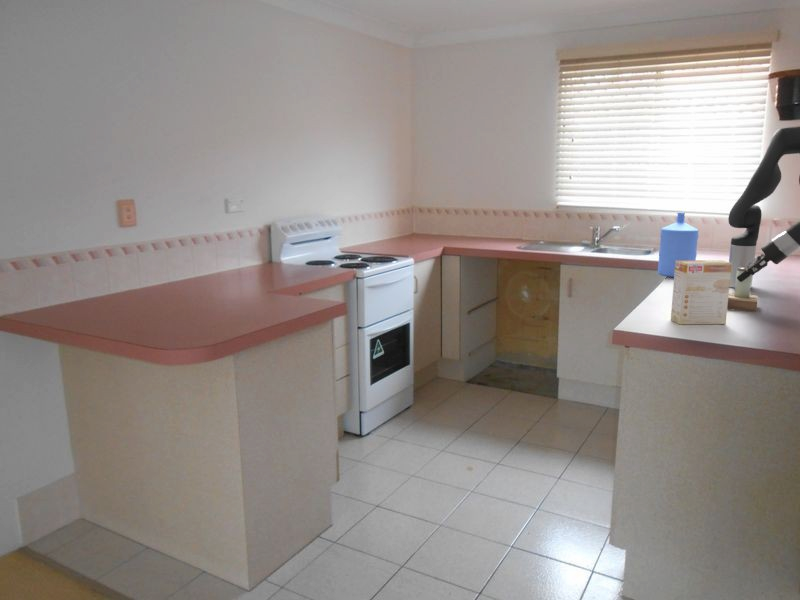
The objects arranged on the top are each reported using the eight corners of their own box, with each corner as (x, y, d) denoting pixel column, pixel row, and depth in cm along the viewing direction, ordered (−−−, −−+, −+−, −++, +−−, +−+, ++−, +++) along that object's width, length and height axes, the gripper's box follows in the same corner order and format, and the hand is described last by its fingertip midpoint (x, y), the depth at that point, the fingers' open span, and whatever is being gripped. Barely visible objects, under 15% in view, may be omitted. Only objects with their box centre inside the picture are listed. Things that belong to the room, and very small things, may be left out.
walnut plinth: (725, 303, 237) (726, 292, 236) (756, 306, 232) (757, 295, 232) (723, 308, 229) (724, 297, 228) (755, 311, 224) (757, 300, 223)
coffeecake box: (715, 319, 213) (721, 259, 209) (726, 324, 206) (733, 262, 202) (669, 319, 212) (674, 259, 208) (679, 324, 205) (685, 263, 201)
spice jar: (734, 294, 233) (737, 266, 231) (749, 295, 231) (753, 267, 229) (733, 296, 229) (736, 268, 227) (749, 298, 226) (752, 269, 224)
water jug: (698, 278, 290) (704, 214, 284) (660, 277, 293) (665, 214, 287) (690, 273, 305) (695, 212, 299) (654, 271, 308) (659, 211, 302)
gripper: (772, 237, 228) (732, 267, 236) (772, 241, 216) (730, 272, 224) (788, 253, 227) (747, 283, 234) (789, 258, 214) (746, 289, 222)
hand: (738, 278), depth 229 cm, fingers open, 8 cm apart
